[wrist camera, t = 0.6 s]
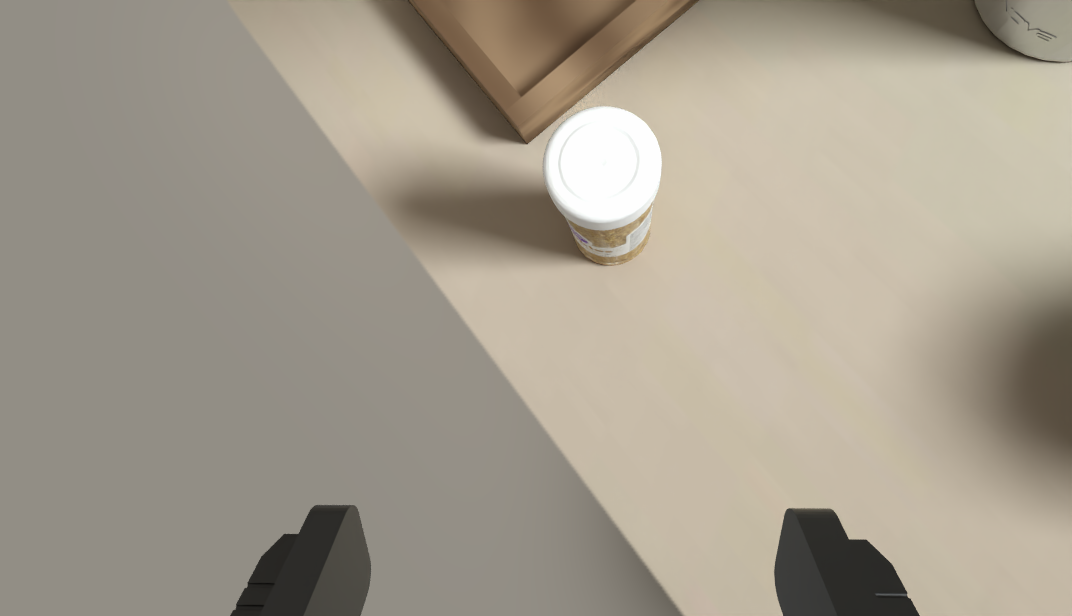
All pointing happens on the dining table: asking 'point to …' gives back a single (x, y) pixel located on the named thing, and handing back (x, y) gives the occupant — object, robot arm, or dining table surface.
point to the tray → (544, 48)
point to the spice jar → (604, 181)
